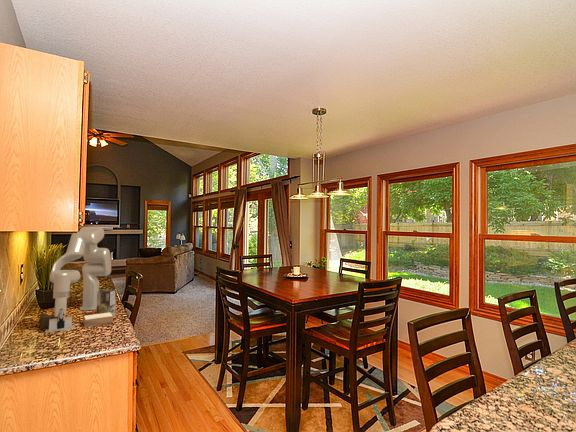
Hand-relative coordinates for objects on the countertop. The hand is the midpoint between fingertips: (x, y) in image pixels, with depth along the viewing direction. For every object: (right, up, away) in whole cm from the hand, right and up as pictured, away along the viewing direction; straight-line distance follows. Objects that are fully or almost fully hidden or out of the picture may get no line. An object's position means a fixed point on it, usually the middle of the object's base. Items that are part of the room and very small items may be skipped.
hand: (60, 326), depth 176 cm
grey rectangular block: (-13, -3, +9) cm, 17 cm away
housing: (0, -2, 0) cm, 2 cm away
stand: (+14, -2, +12) cm, 18 cm away
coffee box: (+10, -3, +27) cm, 29 cm away
